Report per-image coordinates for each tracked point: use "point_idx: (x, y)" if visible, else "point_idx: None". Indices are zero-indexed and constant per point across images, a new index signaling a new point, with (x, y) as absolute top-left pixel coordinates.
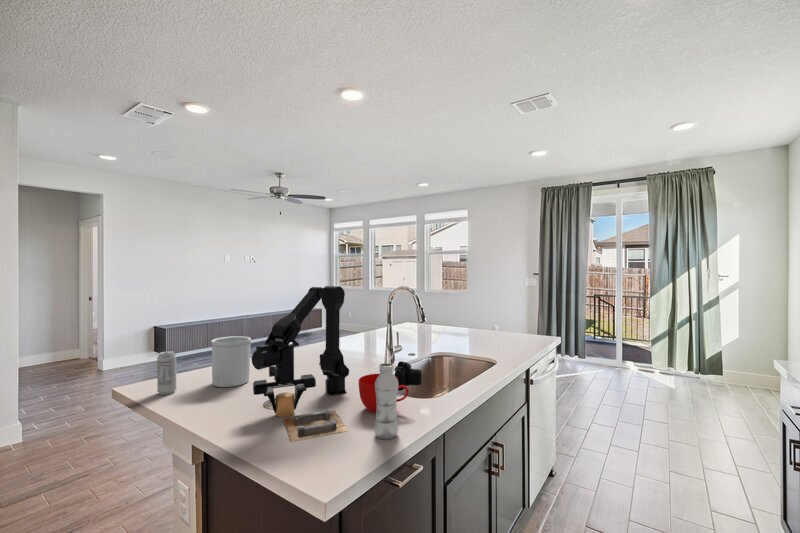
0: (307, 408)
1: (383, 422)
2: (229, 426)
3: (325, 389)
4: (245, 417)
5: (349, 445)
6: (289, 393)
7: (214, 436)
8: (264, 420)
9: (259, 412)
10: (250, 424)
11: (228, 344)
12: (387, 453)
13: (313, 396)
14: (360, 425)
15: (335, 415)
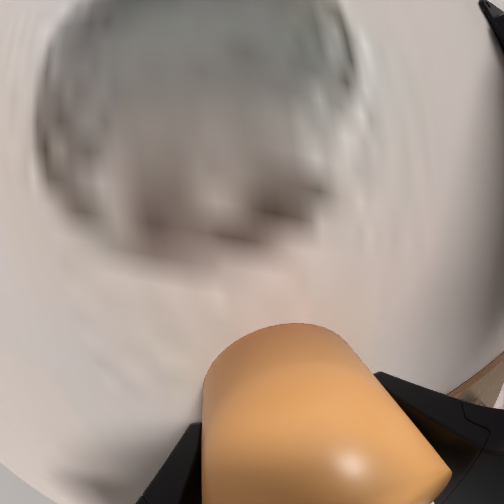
0: (449, 285)
1: None
2: (17, 442)
3: (498, 19)
4: (8, 373)
5: None
6: (415, 492)
7: (33, 482)
8: (148, 452)
9: (43, 311)
10: (92, 465)
11: None
12: None
13: (458, 40)
14: None
15: (493, 396)
